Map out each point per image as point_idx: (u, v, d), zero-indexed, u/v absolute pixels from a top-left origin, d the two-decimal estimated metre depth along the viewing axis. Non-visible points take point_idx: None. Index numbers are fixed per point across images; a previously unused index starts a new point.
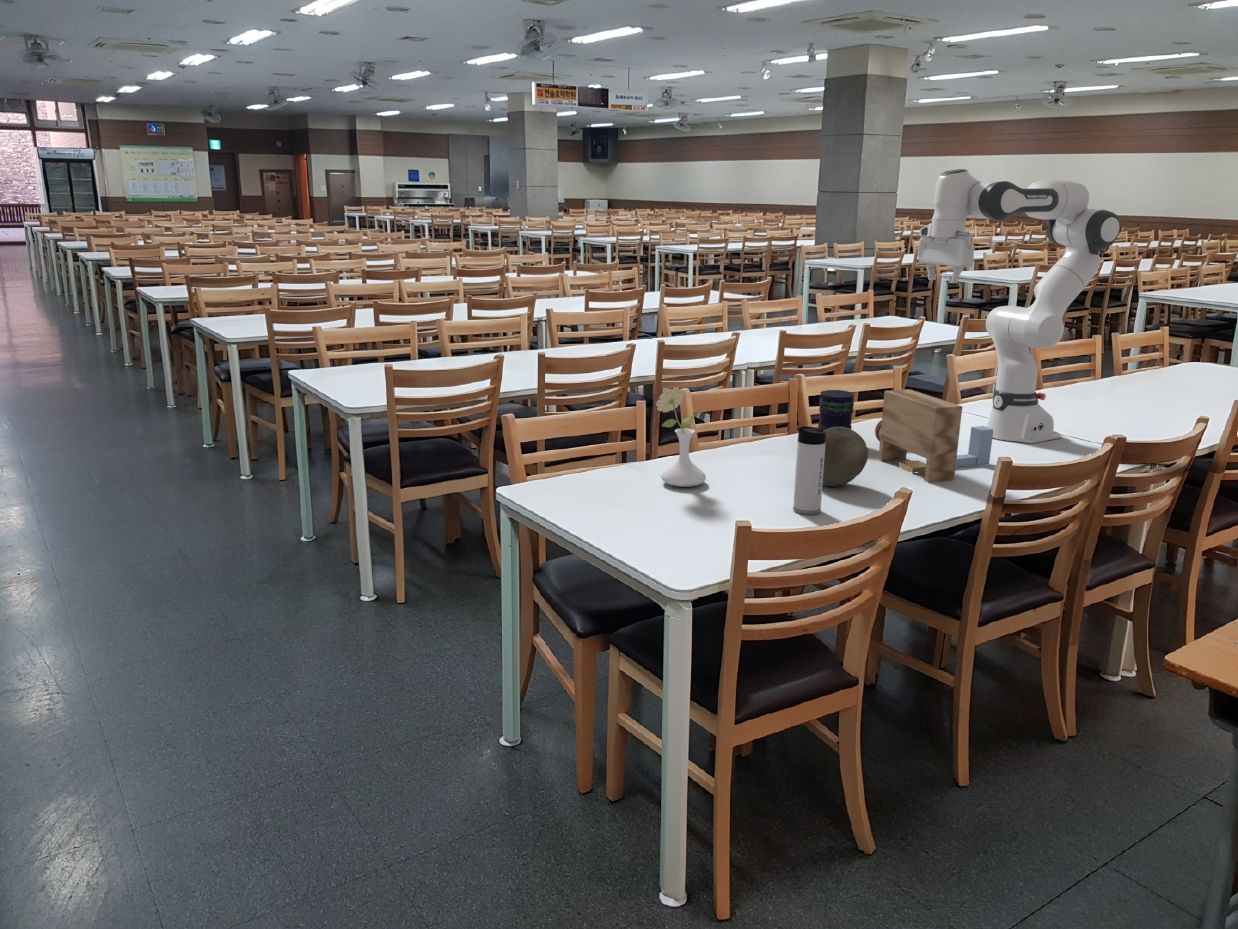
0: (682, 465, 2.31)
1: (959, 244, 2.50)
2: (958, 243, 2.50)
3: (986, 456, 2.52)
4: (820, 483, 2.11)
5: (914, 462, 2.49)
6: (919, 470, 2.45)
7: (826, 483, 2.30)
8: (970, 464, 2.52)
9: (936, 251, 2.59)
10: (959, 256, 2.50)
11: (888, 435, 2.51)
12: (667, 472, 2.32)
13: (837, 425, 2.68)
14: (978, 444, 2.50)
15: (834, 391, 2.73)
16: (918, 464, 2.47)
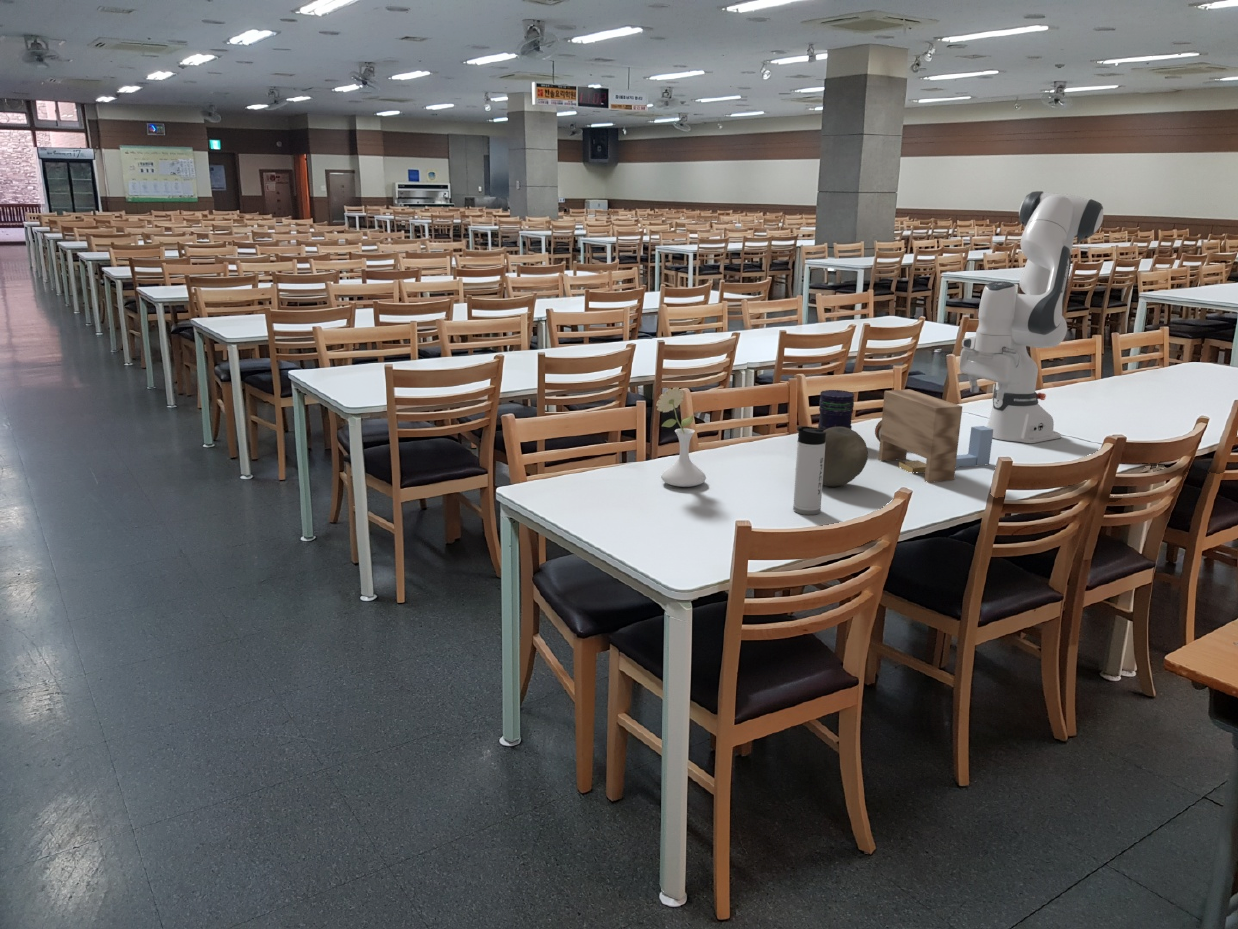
0: (682, 465, 2.31)
1: (1005, 362, 2.38)
2: (1004, 360, 2.39)
3: (986, 456, 2.52)
4: (820, 483, 2.11)
5: (914, 462, 2.49)
6: (919, 470, 2.45)
7: (826, 483, 2.30)
8: (970, 464, 2.52)
9: (979, 364, 2.48)
10: (1006, 374, 2.39)
11: (888, 435, 2.51)
12: (667, 472, 2.32)
13: (837, 425, 2.68)
14: (978, 444, 2.50)
15: (834, 391, 2.73)
16: (918, 464, 2.47)
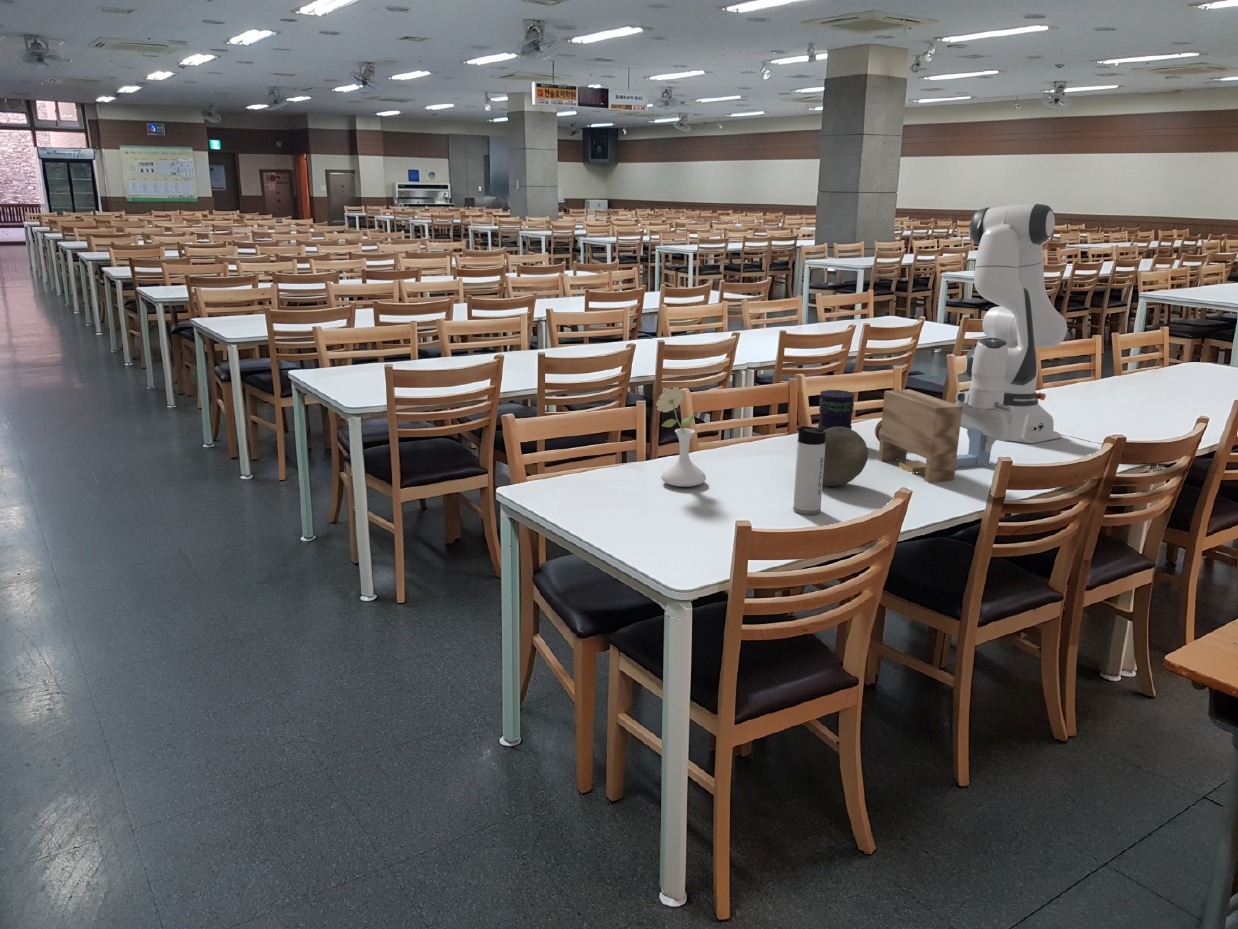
0: (682, 465, 2.31)
1: (998, 418, 2.43)
2: (997, 417, 2.43)
3: (986, 456, 2.52)
4: (820, 483, 2.11)
5: (914, 462, 2.49)
6: (919, 470, 2.45)
7: (826, 483, 2.30)
8: (970, 464, 2.52)
9: (973, 418, 2.52)
10: (999, 430, 2.43)
11: (888, 435, 2.51)
12: (667, 472, 2.32)
13: (837, 425, 2.68)
14: (978, 444, 2.50)
15: (834, 391, 2.73)
16: (918, 464, 2.47)
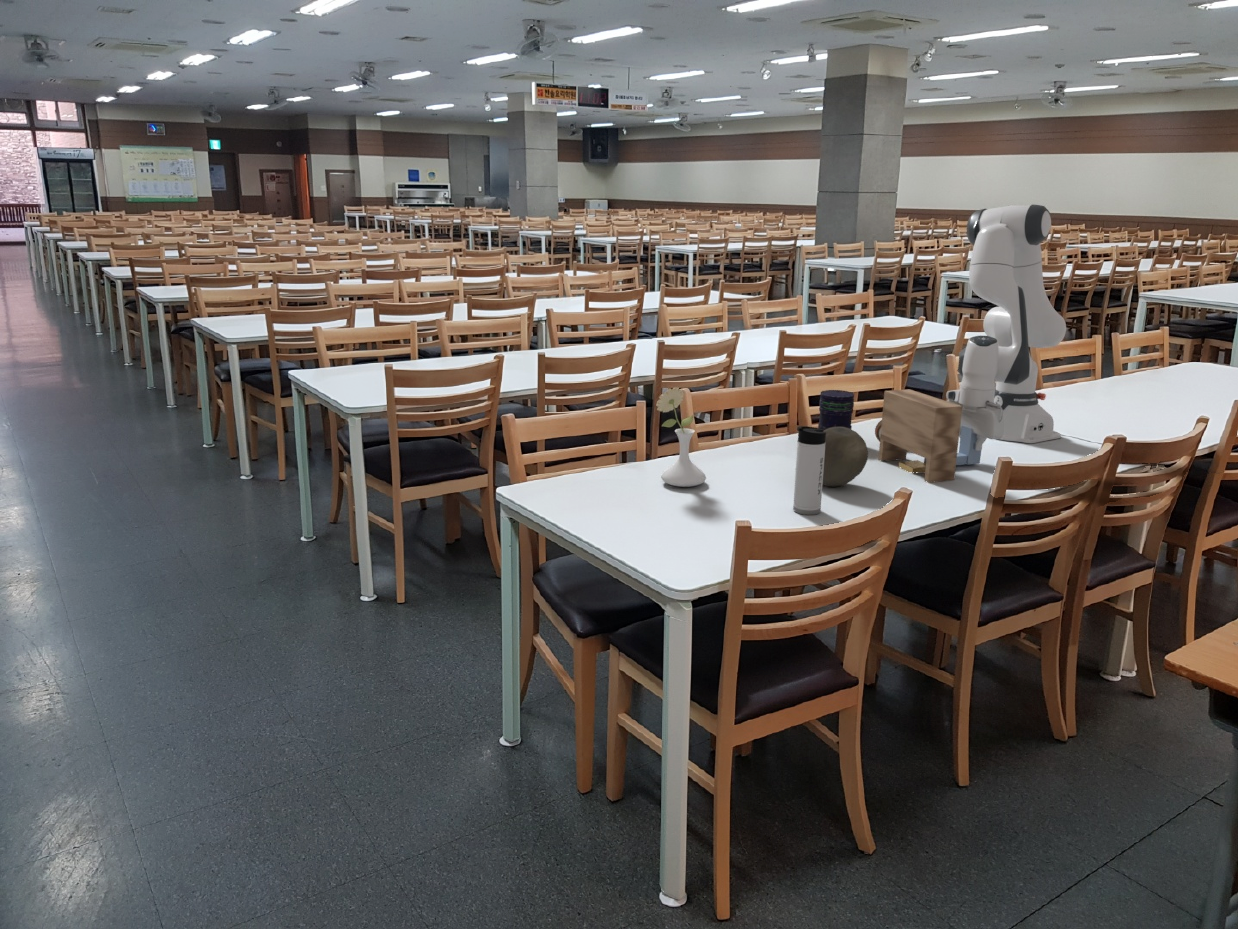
0: (682, 465, 2.31)
1: (989, 416, 2.41)
2: (987, 415, 2.42)
3: (977, 454, 2.51)
4: (820, 483, 2.11)
5: (914, 462, 2.49)
6: (920, 470, 2.45)
7: (826, 483, 2.30)
8: (961, 463, 2.50)
9: (963, 417, 2.51)
10: (989, 428, 2.42)
11: (888, 435, 2.51)
12: (667, 472, 2.32)
13: (837, 425, 2.68)
14: (969, 442, 2.49)
15: (834, 391, 2.73)
16: (918, 464, 2.47)
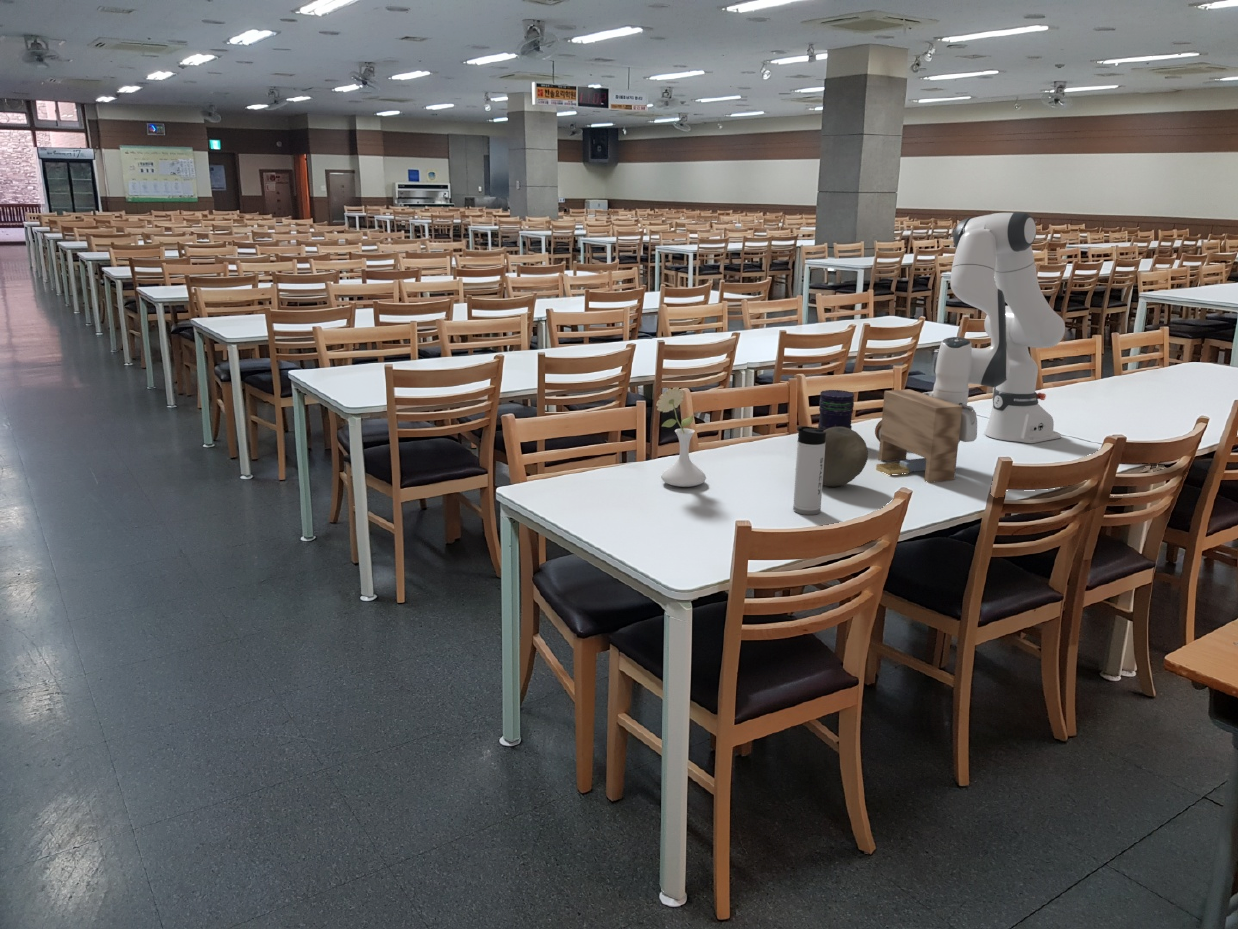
0: (682, 465, 2.31)
1: (962, 419, 2.39)
2: None
3: None
4: (820, 483, 2.11)
5: (892, 464, 2.47)
6: (897, 472, 2.43)
7: (826, 483, 2.30)
8: None
9: None
10: (962, 431, 2.39)
11: (888, 435, 2.51)
12: (667, 472, 2.32)
13: (837, 425, 2.68)
14: None
15: (834, 391, 2.73)
16: (895, 466, 2.45)
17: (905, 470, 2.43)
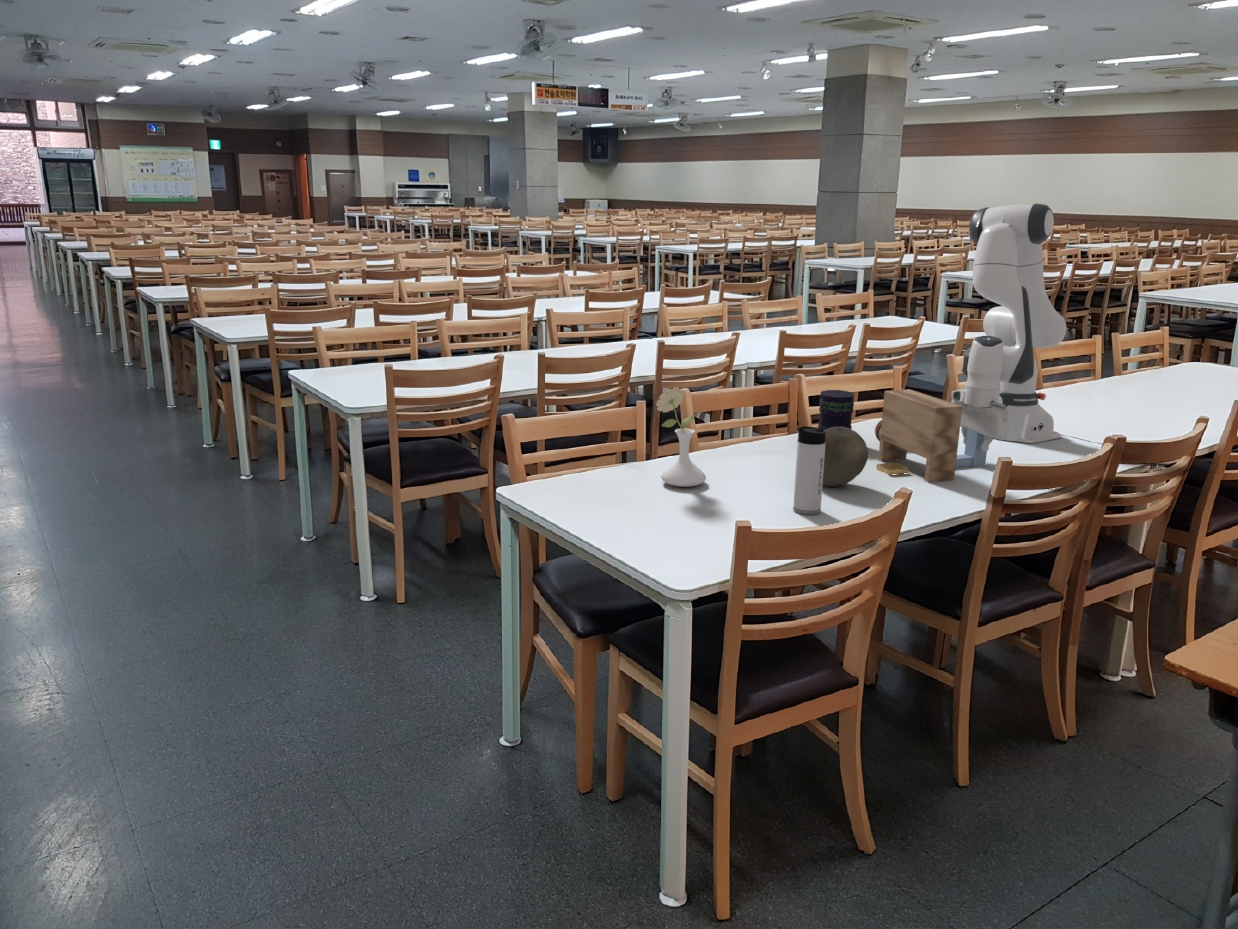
0: (682, 465, 2.31)
1: (994, 416, 2.42)
2: (993, 415, 2.42)
3: (982, 456, 2.52)
4: (820, 483, 2.11)
5: (892, 464, 2.47)
6: (896, 472, 2.43)
7: (826, 483, 2.30)
8: (966, 464, 2.51)
9: (969, 417, 2.51)
10: (994, 428, 2.42)
11: (888, 435, 2.51)
12: (667, 472, 2.32)
13: (837, 425, 2.68)
14: (974, 444, 2.50)
15: (834, 391, 2.73)
16: (895, 466, 2.45)
17: (905, 470, 2.43)
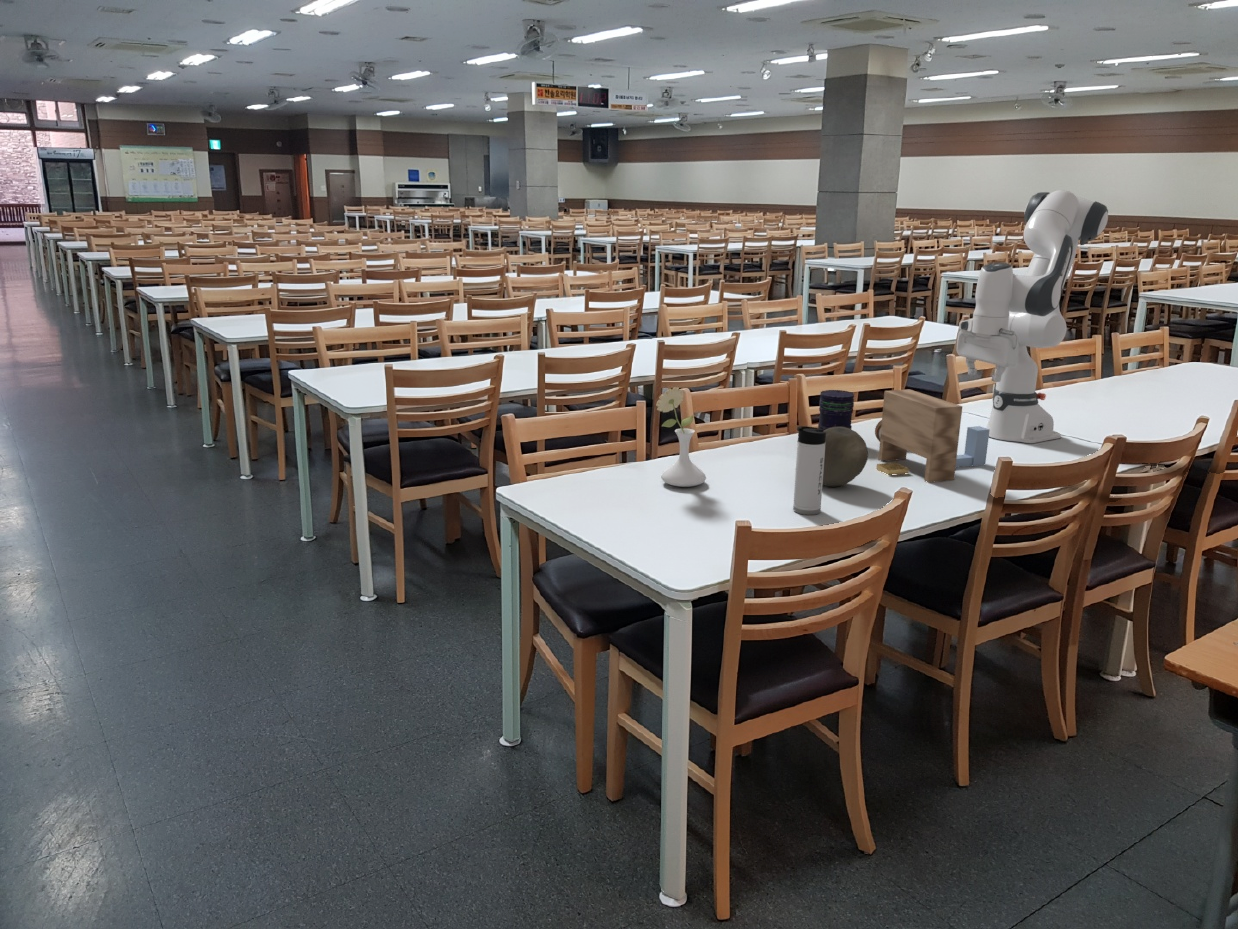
0: (682, 465, 2.31)
1: (1003, 343, 2.37)
2: (1001, 342, 2.37)
3: (982, 456, 2.52)
4: (820, 483, 2.11)
5: (892, 464, 2.47)
6: (896, 472, 2.43)
7: (826, 483, 2.30)
8: (966, 464, 2.51)
9: (977, 347, 2.46)
10: (1003, 356, 2.37)
11: (888, 435, 2.51)
12: (667, 472, 2.32)
13: (837, 425, 2.68)
14: (974, 444, 2.50)
15: (834, 391, 2.73)
16: (895, 466, 2.45)
17: (905, 470, 2.43)
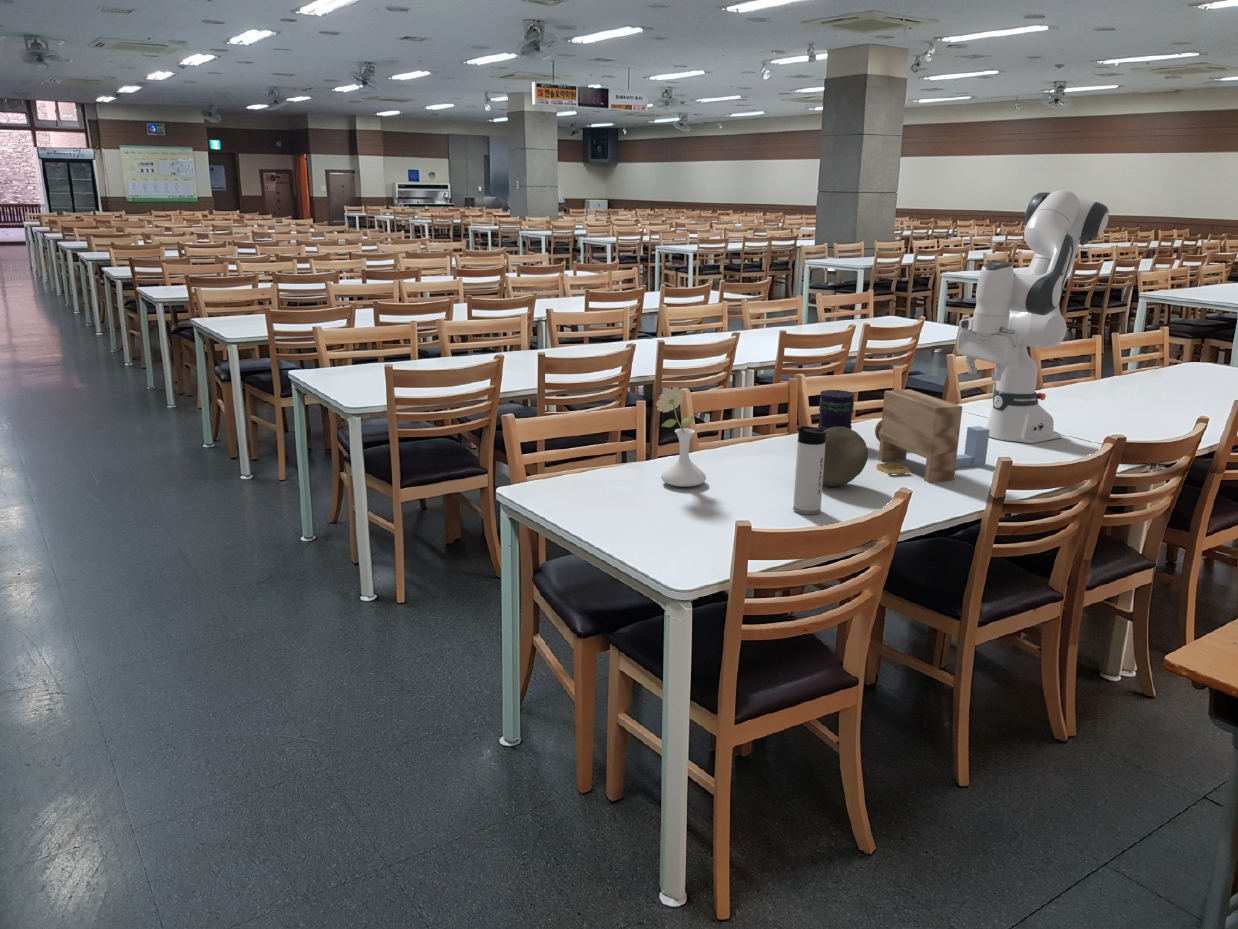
0: (682, 465, 2.31)
1: (1003, 342, 2.36)
2: (1002, 341, 2.37)
3: (982, 456, 2.52)
4: (820, 483, 2.11)
5: (892, 464, 2.47)
6: (896, 472, 2.43)
7: (826, 483, 2.30)
8: (966, 464, 2.51)
9: (977, 346, 2.46)
10: (1003, 354, 2.37)
11: (888, 435, 2.51)
12: (667, 472, 2.32)
13: (837, 425, 2.68)
14: (974, 444, 2.50)
15: (834, 391, 2.73)
16: (895, 466, 2.45)
17: (905, 470, 2.43)
